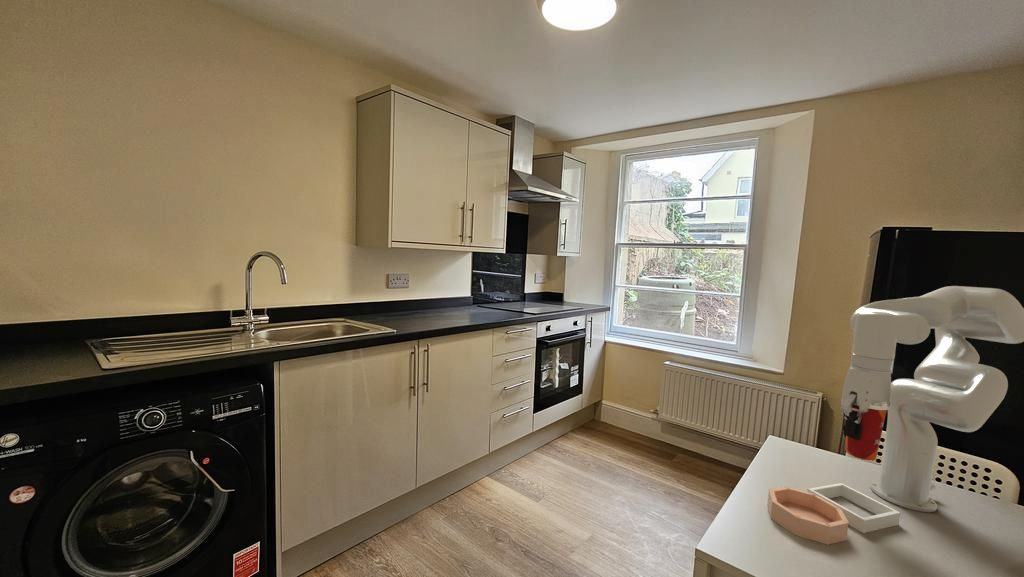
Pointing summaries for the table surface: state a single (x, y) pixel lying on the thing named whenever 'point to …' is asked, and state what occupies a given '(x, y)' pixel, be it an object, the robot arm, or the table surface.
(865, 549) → the table surface
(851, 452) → the paper cup
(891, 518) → the parts tray
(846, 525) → the dish
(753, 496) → the table surface
